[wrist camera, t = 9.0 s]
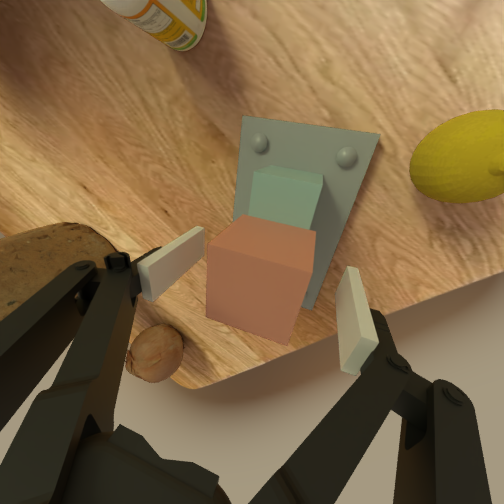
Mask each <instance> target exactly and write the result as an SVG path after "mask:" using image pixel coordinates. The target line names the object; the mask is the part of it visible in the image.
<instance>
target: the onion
mask: <svg viewBox="0 0 504 504" xmlns="http://www.w3.org/2000/svg"><path fill="white" fill-rule="evenodd" d="M181 337H182V336H180V334H179V333H178V332H177V329H175V330H174V329H173V328H172V326H171V325H166V324H160V325H157V326H153V327H150V328H147V329H145V330H144V331H142V332H141V333H140V334H139V335H138V336H137V337H136V338H135V339H134V341H133V343H132V344H131V347H130V350H128V351H127V357H126V361H125V362H126V365H125V367H126V370H127V371H128V372H129V373H130V374H132V375H135V376H136V377H138V378H141V379H143V380H144V381H147V382H149V383H150V382H151V383H156V382H160V381H162V380H165V379H167V378H168V377H170V376H171V375H172V374H173V373H174V372H175V371H176V370H177V369H178V367H179V366H180V364H181V361H182V358H183V349H184V348H185V347H184V346H183V340H182V338H181Z"/></svg>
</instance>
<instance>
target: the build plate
mask: <svg viewBox="0 0 504 504" xmlns="http://www.w3.org/2000/svg"><path fill="white" fill-rule="evenodd" d="M380 135H381V134H375V133H368V132H361V131H353V130H346V129H339V128H332V127H324V126H317V125H310V124H302V123H295V122H288V121H280V120H273V119H266V118H259V117H251V116H244V115H243V116H242V126H241V137H240V148H239V159H238V169H237V180H236V191H235V202H234V212H233V222H234V221H235V220H236V219H238V218H239V217H240V216H241V215H242V214H244V215H248V216H253V217H257V218H261V219H265V220H270V221H274V222H278V223H282V224H287V225H291V226H295V227H299V228H303V229H308V230H312V231H316V239H315V250H314V262H313V273H312V276H311V279H310V282H309V285H308V288H307V291H306V293H305V296H304V299H303V302H302V305H301V307H303V308H306V309H309V310H312V309H313V306H314V304H315V301H316V299H317V296H318V293H319V291H320V288H321V286H322V283H323V281H324V278H325V275H326V273H327V270H328V268H329V265H330V263H331V260H332V258H333V255H334V252H335V250H336V247H337V245H338V242H339V240H340V237H341V235H342V232H343V229H344V227H345V224H346V222H347V219H348V217H349V214H350V211H351V209H352V206H353V204H354V201H355V199H356V196H357V194H358V191H359V188H360V186H361V183H362V181H363V178H364V176H365V173H366V171H367V168H368V165H369V163H370V160H371V158H372V155H373V153H374V150H375V147H376V145H377V142H378V140H379V137H380Z"/></svg>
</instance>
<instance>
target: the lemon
mask: <svg viewBox="0 0 504 504" xmlns="http://www.w3.org/2000/svg"><path fill="white" fill-rule="evenodd" d="M409 173H410V176H411V180H412V182H413V184H414V185H415V187H416V188H417V189H418V190H419V191H420V192H422V193H423V194H424V195H426V196H427V197H430V198H432V199H435V200H438V201H441V202H449V203H470V202H478V201H482V200H486V199H490V198H493V197H496V196H498V195H500V194H502V193H504V110H483V111H475V112H471V113H467V114H464V115H461V116H458V117H455V118H453V119H451V120H449V121H447V122H445V123H443V124H441V125H440V126H438V127H437V128H435V129H434V130H433V131H431V132H430V133H429V134H428V135H427V136H426V137H425V138H424V139H423V140H422V141H421V142H420V143H419V144H418V146H417V148H416V149H415V151H414V153H413V155H412V158H411V161H410V169H409Z"/></svg>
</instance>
